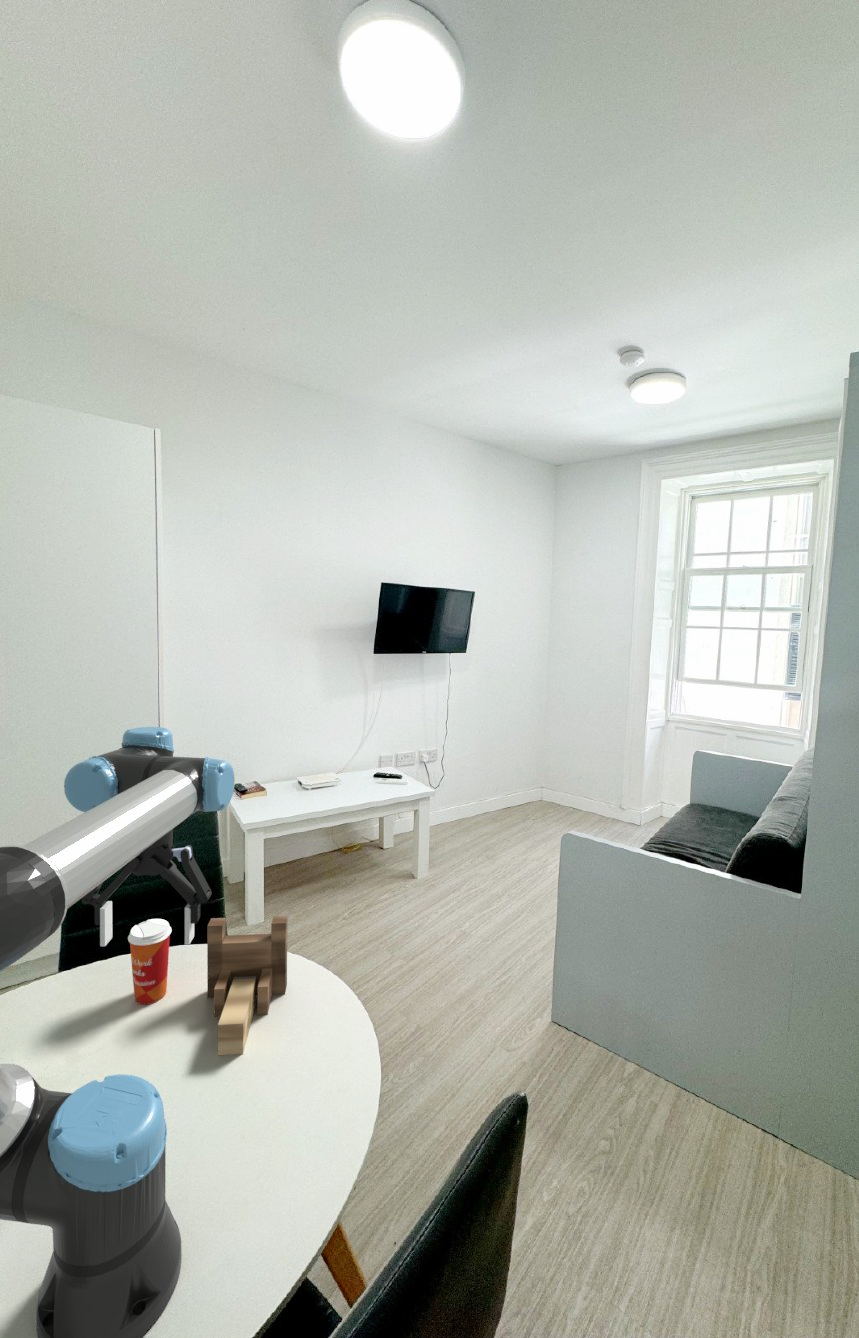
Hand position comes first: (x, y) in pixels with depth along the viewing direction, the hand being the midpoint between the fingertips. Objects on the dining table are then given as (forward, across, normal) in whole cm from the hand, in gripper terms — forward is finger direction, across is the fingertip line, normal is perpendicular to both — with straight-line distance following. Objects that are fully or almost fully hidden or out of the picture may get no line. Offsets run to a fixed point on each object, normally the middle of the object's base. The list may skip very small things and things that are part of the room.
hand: (148, 941), depth 96 cm
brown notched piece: (+25, -12, -20) cm, 34 cm away
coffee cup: (+25, +8, -22) cm, 34 cm away
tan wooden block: (+25, -12, -12) cm, 30 cm away
